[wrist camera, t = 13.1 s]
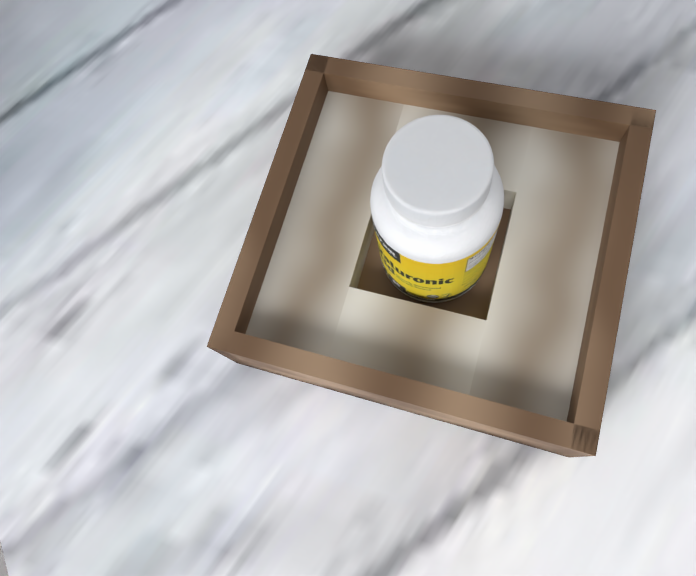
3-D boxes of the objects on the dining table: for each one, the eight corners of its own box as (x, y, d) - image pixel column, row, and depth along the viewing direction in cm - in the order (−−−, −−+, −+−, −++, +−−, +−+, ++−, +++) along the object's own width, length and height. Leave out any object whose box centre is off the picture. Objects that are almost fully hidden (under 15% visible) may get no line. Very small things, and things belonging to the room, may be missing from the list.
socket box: (237, 362, 31) (206, 346, 26) (325, 104, 34) (310, 54, 30) (568, 457, 27) (595, 455, 23) (624, 158, 31) (655, 110, 27)
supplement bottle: (360, 267, 30) (331, 179, 21) (421, 189, 31) (419, 70, 22) (447, 327, 29) (457, 260, 19) (508, 242, 30) (546, 139, 20)
